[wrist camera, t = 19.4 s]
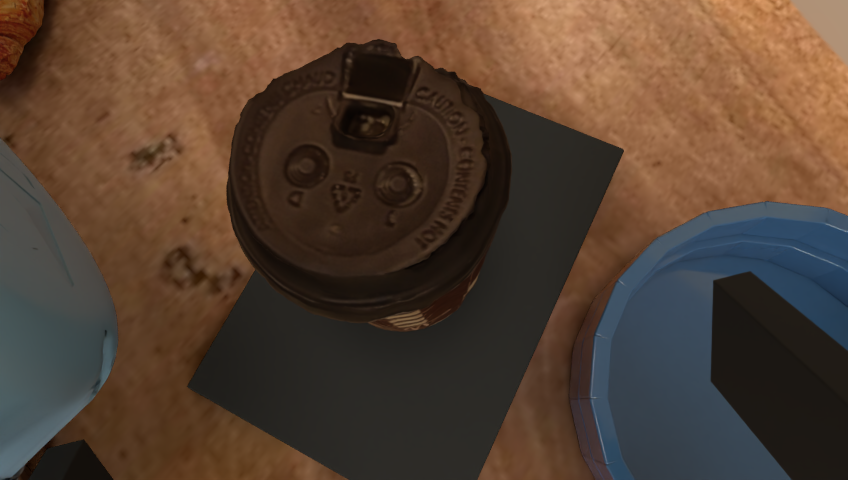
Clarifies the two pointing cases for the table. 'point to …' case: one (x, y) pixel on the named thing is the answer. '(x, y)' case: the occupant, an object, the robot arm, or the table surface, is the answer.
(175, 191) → the table surface
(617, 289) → the bowl
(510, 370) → the mat
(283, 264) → the coffee cup
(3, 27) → the croissant
